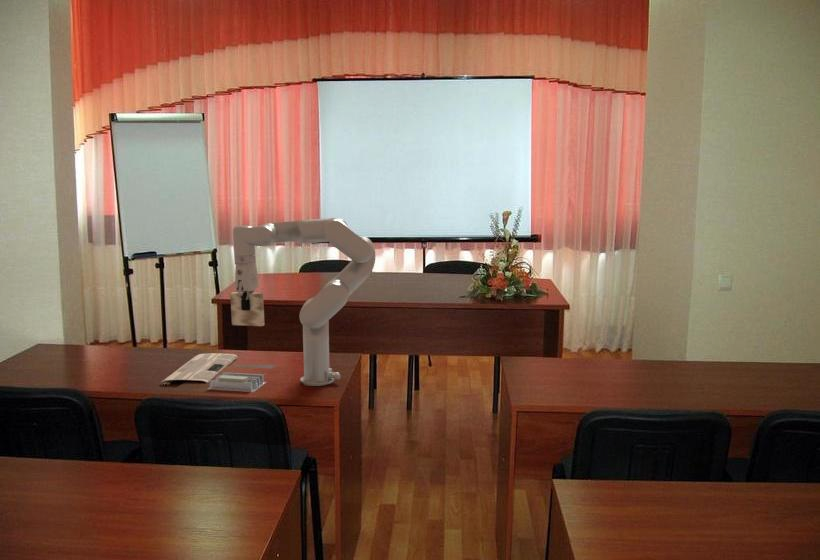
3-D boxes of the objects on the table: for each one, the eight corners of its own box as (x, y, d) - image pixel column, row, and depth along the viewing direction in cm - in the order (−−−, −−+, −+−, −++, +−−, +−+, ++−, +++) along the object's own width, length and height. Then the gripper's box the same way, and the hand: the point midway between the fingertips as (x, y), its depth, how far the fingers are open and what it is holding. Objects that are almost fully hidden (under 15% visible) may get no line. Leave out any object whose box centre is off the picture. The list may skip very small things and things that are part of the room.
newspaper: (207, 387, 278) (207, 379, 278) (156, 386, 279) (156, 379, 279) (237, 359, 314) (237, 353, 314) (192, 359, 316) (191, 352, 315)
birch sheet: (264, 324, 277) (263, 292, 275) (262, 326, 275) (260, 293, 273) (234, 323, 280) (232, 292, 278) (231, 325, 278) (230, 293, 276)
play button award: (218, 379, 282) (235, 364, 302) (218, 383, 283) (235, 368, 302) (260, 379, 281) (274, 365, 301) (260, 383, 281) (274, 368, 301)
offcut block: (248, 387, 272) (248, 376, 271) (244, 389, 269) (244, 379, 268) (222, 385, 274) (222, 375, 273) (219, 388, 271) (218, 377, 271)
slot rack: (267, 384, 279) (266, 374, 278) (253, 394, 267) (253, 383, 266) (222, 381, 282) (221, 371, 282) (207, 391, 271) (206, 380, 270)
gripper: (245, 263, 265) (247, 314, 268) (263, 256, 280) (265, 305, 283) (225, 262, 266) (228, 313, 269) (244, 256, 282) (247, 304, 285)
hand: (247, 309), depth 276 cm, fingers closed on birch sheet, 2 cm apart
